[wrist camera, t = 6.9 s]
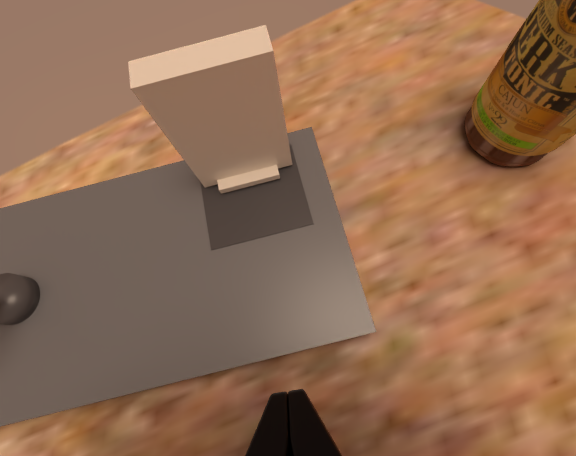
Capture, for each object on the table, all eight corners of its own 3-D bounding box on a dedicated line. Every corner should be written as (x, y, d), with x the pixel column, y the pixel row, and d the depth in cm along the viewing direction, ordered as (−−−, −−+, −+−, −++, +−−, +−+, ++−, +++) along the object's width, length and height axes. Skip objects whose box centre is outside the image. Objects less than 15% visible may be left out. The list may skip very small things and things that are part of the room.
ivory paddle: (295, 174, 22) (277, 64, 13) (206, 197, 22) (131, 102, 13) (284, 137, 23) (262, 12, 14) (200, 159, 23) (127, 48, 14)
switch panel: (370, 333, 20) (379, 330, 17) (-30, 434, 21) (-101, 451, 17) (312, 147, 25) (310, 115, 22) (-11, 231, 26) (-64, 213, 22)
